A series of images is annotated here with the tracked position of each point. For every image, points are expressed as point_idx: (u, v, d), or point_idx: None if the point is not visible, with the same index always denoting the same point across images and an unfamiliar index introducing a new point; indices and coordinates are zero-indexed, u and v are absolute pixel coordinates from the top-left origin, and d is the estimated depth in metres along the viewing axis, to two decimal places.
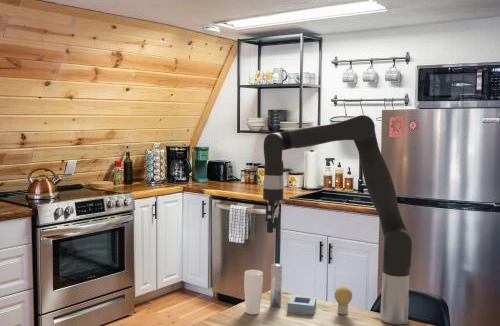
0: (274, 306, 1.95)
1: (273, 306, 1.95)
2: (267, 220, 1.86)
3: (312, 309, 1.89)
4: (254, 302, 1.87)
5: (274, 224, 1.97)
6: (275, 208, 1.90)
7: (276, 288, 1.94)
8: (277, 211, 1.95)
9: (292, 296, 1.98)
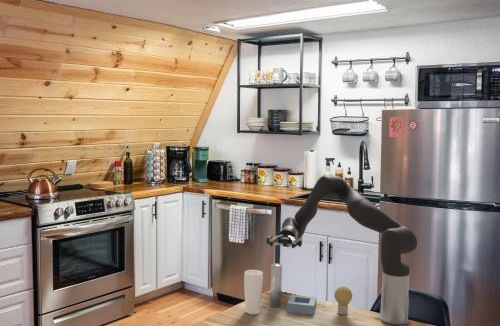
0: (274, 306, 1.95)
1: (273, 306, 1.95)
2: None
3: (312, 309, 1.89)
4: (254, 302, 1.87)
5: None
6: None
7: (276, 288, 1.94)
8: (290, 237, 2.12)
9: (292, 296, 1.98)
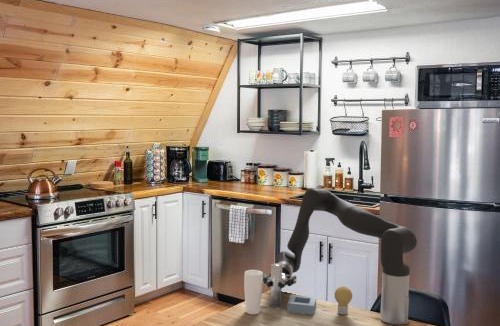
0: (274, 306, 1.95)
1: (273, 306, 1.95)
2: (264, 281, 1.99)
3: (312, 309, 1.89)
4: (254, 302, 1.87)
5: None
6: None
7: (276, 288, 1.94)
8: None
9: (292, 296, 1.98)
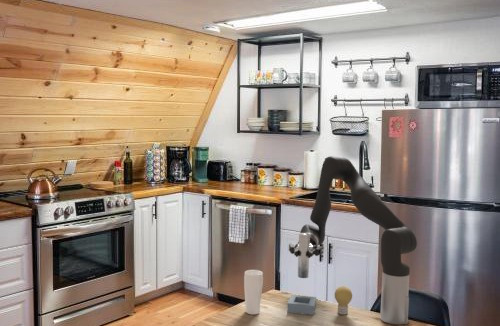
0: (302, 276, 1.92)
1: (301, 276, 1.92)
2: (291, 251, 1.96)
3: (312, 309, 1.89)
4: (254, 302, 1.87)
5: None
6: None
7: (304, 258, 1.91)
8: None
9: (292, 296, 1.98)
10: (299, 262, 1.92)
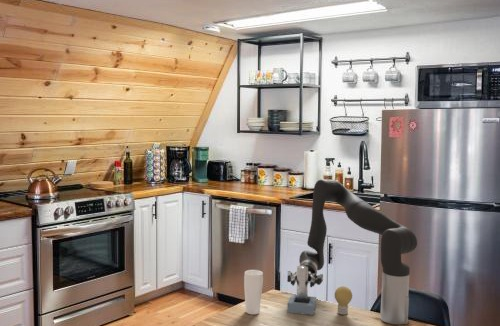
0: None
1: None
2: (287, 279, 1.97)
3: (312, 309, 1.89)
4: (254, 302, 1.87)
5: None
6: None
7: (303, 291, 1.92)
8: (309, 274, 1.98)
9: (292, 296, 1.98)
10: (298, 295, 1.93)
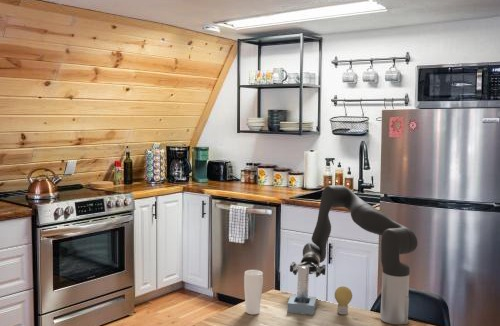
0: None
1: None
2: (290, 269, 2.10)
3: (312, 309, 1.89)
4: (254, 302, 1.87)
5: None
6: None
7: (303, 291, 1.92)
8: (313, 265, 2.10)
9: (292, 296, 1.98)
10: (298, 295, 1.93)
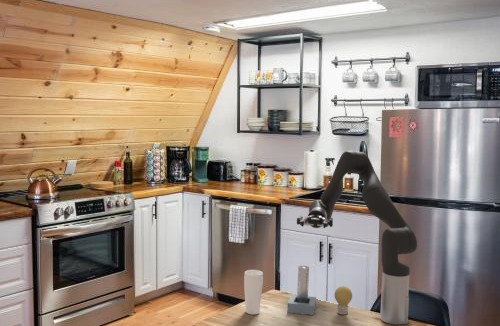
0: None
1: None
2: (297, 222, 2.09)
3: (312, 309, 1.89)
4: (254, 302, 1.87)
5: None
6: None
7: (303, 291, 1.92)
8: (320, 218, 2.08)
9: (292, 296, 1.98)
10: (298, 295, 1.93)
